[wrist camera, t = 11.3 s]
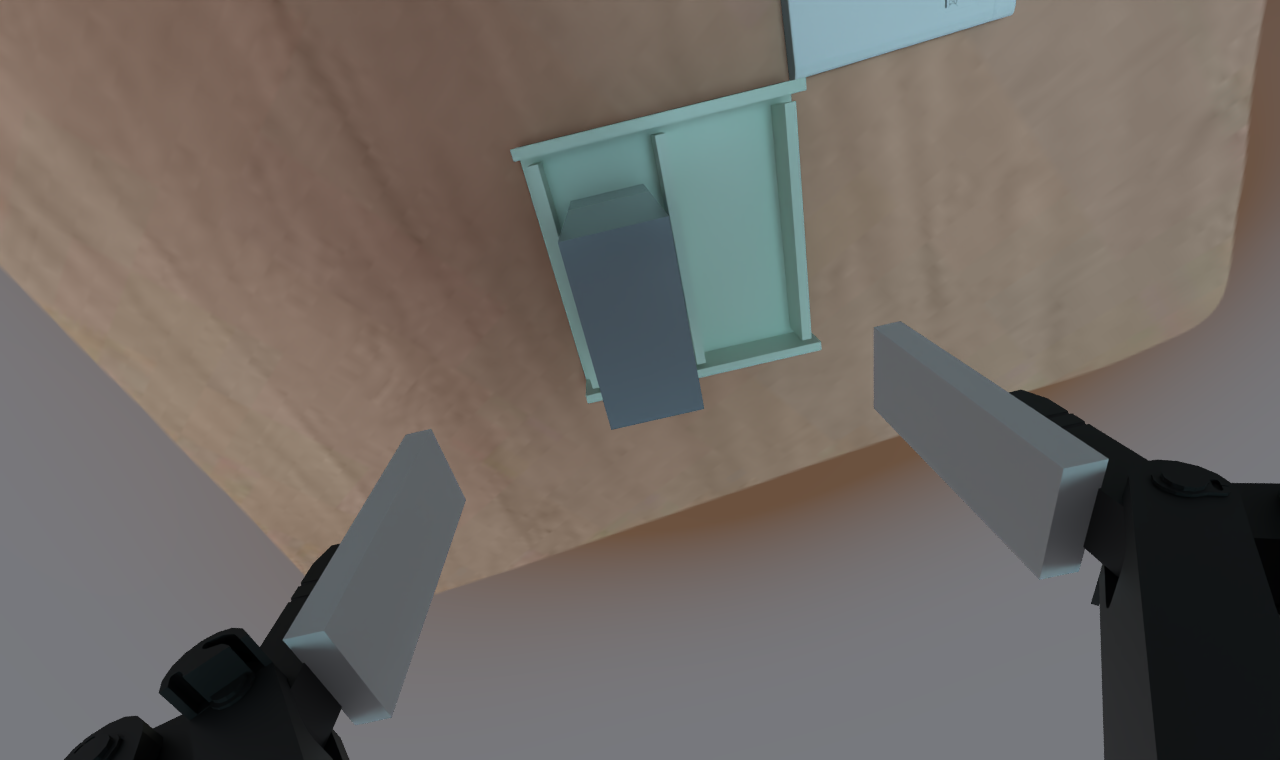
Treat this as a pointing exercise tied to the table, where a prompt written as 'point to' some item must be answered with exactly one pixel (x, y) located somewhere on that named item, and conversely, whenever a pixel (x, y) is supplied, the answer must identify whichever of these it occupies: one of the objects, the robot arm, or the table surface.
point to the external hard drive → (872, 27)
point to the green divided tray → (700, 217)
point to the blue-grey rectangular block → (631, 305)
